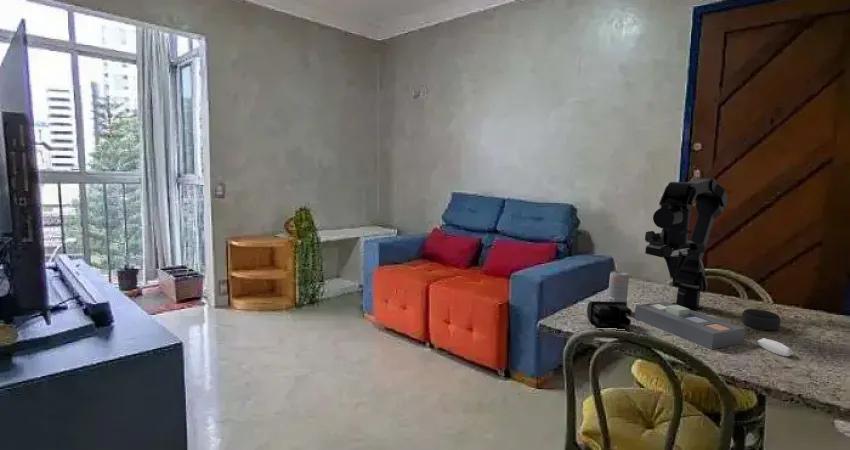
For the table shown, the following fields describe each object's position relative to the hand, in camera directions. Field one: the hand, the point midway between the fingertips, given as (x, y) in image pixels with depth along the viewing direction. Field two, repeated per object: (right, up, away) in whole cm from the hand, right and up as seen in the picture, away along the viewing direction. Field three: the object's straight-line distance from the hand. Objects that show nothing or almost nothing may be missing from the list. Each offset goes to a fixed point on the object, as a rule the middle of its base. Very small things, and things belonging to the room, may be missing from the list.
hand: (672, 276), depth 142 cm
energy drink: (-15, -11, +4) cm, 19 cm away
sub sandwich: (+13, -16, -24) cm, 32 cm away
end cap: (-23, -13, -9) cm, 28 cm away
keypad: (-2, -13, -11) cm, 17 cm away
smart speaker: (+22, -14, -6) cm, 26 cm away
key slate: (-1, -12, -14) cm, 19 cm away
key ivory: (-6, -11, -3) cm, 12 cm away
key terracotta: (+2, -13, -19) cm, 23 cm away
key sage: (-3, -10, -9) cm, 14 cm away
